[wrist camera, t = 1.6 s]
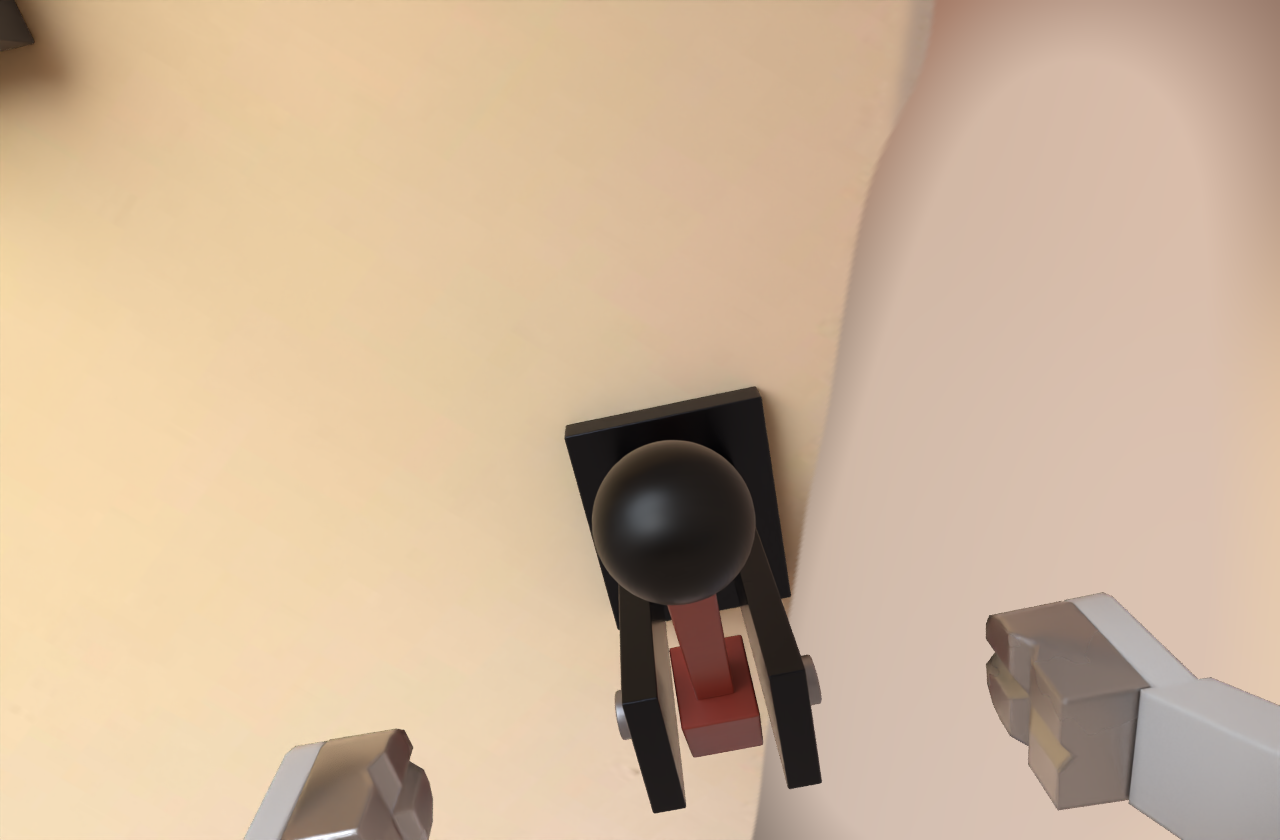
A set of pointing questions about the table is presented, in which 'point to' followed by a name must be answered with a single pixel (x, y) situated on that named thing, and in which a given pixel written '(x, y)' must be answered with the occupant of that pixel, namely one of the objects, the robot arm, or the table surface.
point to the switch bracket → (757, 589)
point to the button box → (12, 27)
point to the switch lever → (686, 575)
